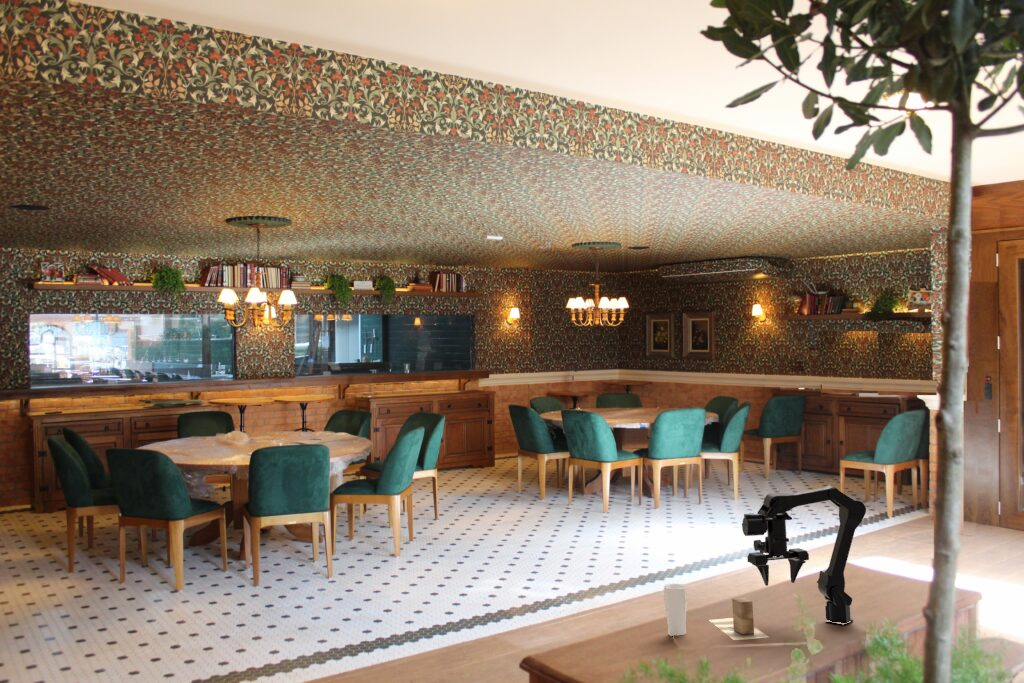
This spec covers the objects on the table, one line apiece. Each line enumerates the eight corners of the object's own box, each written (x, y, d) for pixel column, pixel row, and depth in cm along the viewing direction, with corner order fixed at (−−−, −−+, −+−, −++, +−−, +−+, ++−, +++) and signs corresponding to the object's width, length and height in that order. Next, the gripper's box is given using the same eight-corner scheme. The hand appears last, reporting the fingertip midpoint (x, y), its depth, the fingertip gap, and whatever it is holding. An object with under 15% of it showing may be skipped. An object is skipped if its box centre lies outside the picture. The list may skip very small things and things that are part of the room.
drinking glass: (675, 640, 258) (672, 590, 259) (661, 634, 264) (659, 585, 265) (693, 636, 261) (690, 586, 262) (679, 630, 267) (676, 582, 268)
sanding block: (745, 629, 263) (743, 597, 263) (754, 634, 258) (752, 601, 258) (733, 631, 262) (732, 598, 262) (742, 635, 257) (740, 602, 257)
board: (708, 622, 275) (708, 619, 275) (740, 619, 276) (740, 617, 276) (733, 642, 253) (733, 640, 253) (769, 639, 254) (769, 637, 254)
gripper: (788, 527, 279) (791, 575, 278) (737, 532, 275) (740, 581, 274) (808, 533, 268) (811, 583, 268) (755, 538, 264) (758, 589, 263)
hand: (779, 584), depth 268 cm, fingers open, 9 cm apart
